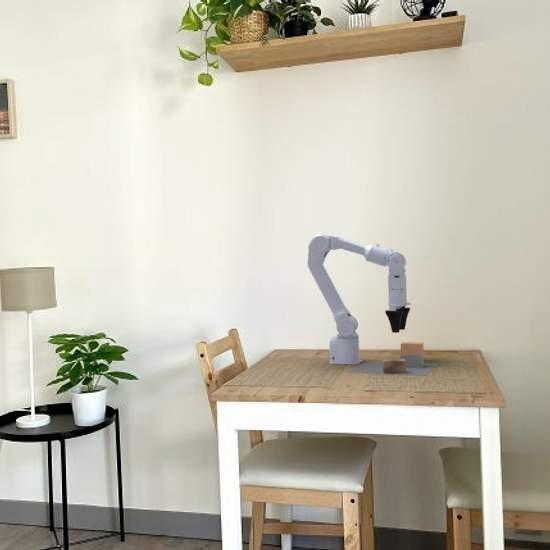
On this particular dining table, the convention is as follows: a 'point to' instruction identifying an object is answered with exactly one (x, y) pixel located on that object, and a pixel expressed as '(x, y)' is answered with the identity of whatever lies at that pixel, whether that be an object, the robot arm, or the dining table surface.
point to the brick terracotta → (412, 349)
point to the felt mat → (378, 369)
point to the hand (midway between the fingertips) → (398, 331)
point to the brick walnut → (394, 366)
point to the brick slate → (413, 360)
